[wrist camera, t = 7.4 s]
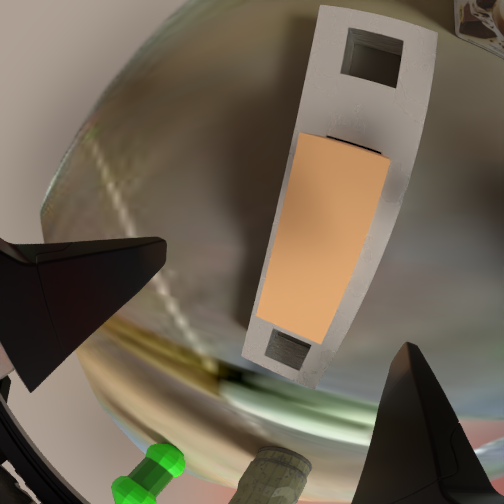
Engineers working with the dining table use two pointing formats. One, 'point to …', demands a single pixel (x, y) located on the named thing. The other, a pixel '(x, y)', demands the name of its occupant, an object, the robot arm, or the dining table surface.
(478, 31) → the coffee box
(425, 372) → the robot arm
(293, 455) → the thermos
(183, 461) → the plastic bottle
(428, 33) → the rail
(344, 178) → the tapered peach wedge
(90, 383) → the dining table surface
